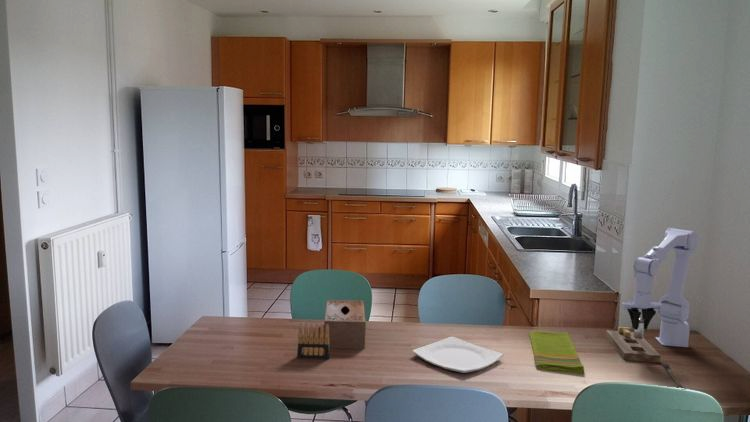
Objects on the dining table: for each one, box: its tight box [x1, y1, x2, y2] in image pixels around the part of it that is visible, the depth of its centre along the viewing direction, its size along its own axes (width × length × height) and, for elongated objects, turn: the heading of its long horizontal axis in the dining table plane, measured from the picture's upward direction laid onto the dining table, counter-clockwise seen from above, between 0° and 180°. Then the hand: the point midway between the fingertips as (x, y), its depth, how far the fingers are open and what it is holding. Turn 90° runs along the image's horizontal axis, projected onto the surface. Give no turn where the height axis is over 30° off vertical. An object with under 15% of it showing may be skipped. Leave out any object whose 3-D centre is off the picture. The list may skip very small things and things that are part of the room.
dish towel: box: [529, 330, 585, 375], centre depth 206 cm, size 15×36×3 cm, turn 169°
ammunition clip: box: [296, 322, 330, 360], centre depth 192 cm, size 11×2×12 cm, turn 91°
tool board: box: [605, 329, 661, 363], centre depth 212 cm, size 12×24×2 cm, turn 173°
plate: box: [411, 336, 504, 374], centre depth 196 cm, size 24×24×3 cm
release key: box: [617, 326, 632, 337], centre depth 219 cm, size 4×5×2 cm
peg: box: [633, 317, 645, 339], centre depth 204 cm, size 3×3×7 cm
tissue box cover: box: [323, 299, 367, 350], centre depth 214 cm, size 26×14×10 cm, turn 3°
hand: (639, 328), depth 204 cm, fingers closed on peg, 3 cm apart
